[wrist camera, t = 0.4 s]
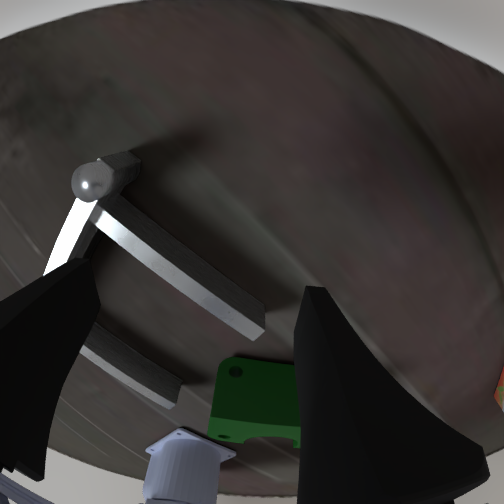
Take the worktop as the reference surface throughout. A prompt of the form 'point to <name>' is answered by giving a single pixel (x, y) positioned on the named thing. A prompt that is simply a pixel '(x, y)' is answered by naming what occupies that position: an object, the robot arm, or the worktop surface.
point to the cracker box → (500, 391)
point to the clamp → (254, 401)
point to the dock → (153, 256)
